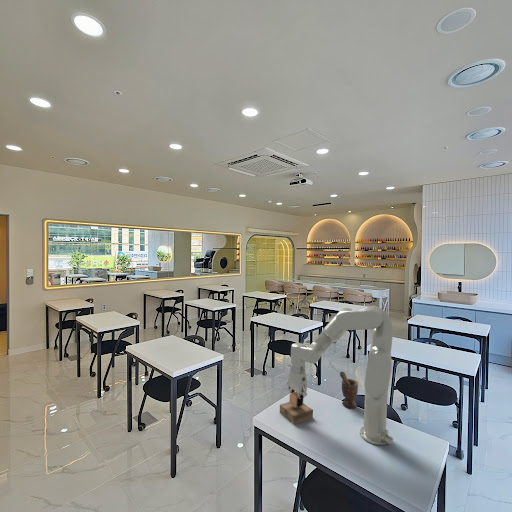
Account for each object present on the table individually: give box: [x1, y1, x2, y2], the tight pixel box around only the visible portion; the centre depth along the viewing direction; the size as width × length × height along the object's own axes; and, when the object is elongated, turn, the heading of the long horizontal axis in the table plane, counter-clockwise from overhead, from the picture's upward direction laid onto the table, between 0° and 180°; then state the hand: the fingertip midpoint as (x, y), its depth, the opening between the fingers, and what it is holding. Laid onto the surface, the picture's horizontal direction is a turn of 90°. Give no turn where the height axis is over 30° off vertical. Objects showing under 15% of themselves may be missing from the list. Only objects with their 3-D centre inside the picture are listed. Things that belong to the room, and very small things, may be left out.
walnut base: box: [279, 401, 314, 425], centre depth 149 cm, size 12×12×4 cm
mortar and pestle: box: [339, 371, 359, 409], centre depth 159 cm, size 12×9×20 cm
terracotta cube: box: [288, 391, 301, 408], centre depth 149 cm, size 5×5×5 cm
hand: (296, 402), depth 149 cm, fingers closed on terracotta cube, 5 cm apart
